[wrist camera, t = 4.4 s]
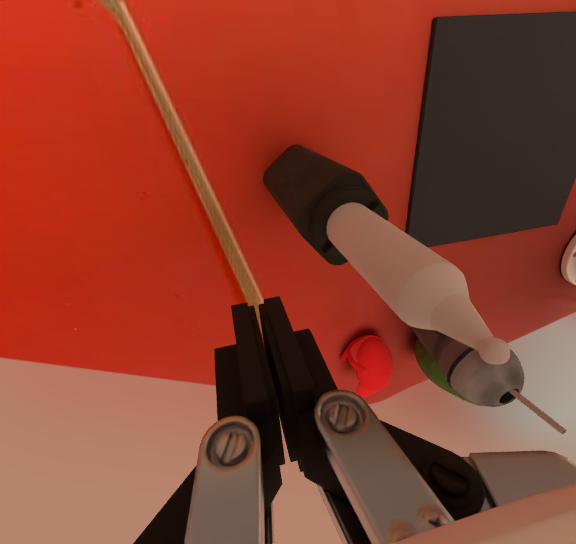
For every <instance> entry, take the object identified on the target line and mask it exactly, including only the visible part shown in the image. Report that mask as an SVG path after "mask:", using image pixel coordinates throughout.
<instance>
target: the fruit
mask: <svg viewBox="0 0 576 544" xmlns="http://www.w3.org/2000/svg"><path fill="white" fill-rule="evenodd" d="M415 355H416V359H417V362H418V364H419V366H420V367H421V369H422V371H423V372H424V373H425V375H426V376H427V377H428V378H429V379H430V380H431V381H432V382H434V383H435V384H436V385H438V386H439V387H441V388H442V389H444V390H446V391H448V392H449V393H451V394H453V395H455V396H458V397H459V398H461V399H463V400H465V401H468V402H470V403H473V402H471V401H469V400H468V399H466V398H464V397H462V396H461V395H460V394H459V393H457V392H456V391H455V390H454V389H452V388H451V387H450V386H449V384H448V382H447V380H446V378H445V376H444V375H443V373H442V371H441V369H440V368H439V365H438V364H437V363H436V361H435V360H434V359H433V357H432V356H431V354H430V353H429V352H428V350H427V349H426V348H425V346H424V345H423V344H422V342H421V341H420V340H419V338H418V339H417V341H416V345H415ZM473 404H476V403H473ZM476 405H478V404H476ZM479 406H482V405H479Z"/></svg>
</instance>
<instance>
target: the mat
mask: <svg viewBox="0 0 576 544" xmlns="http://www.w3.org/2000/svg"><path fill="white" fill-rule="evenodd" d="M575 178H576V12H553V13H528V14H502V15H477V16H452V17H436V18H434V19H433V24H432V32H431V40H430V48H429V55H428V63H427V71H426V78H425V86H424V94H423V101H422V109H421V117H420V125H419V132H418V140H417V148H416V155H415V163H414V171H413V179H412V186H411V194H410V202H409V209H408V217H407V225H406V234H408V235H409V236H411V237H412V238H414V239H415V240H417V241H418V242H420V243H421V244H423V245H424V246H426V247H432V246H437V245H443V244H449V243H454V242H460V241H466V240H471V239H477V238H482V237H488V236H494V235H499V234H505V233H511V232H516V231H522V230H527V229H533V228H539V227H544V226H550V225H556V224H558V222H559V219H560V217H561V214H562V211H563V209H564V206H565V204H566V201H567V199H568V196H569V193H570V191H571V188H572V186H573V183H574V180H575Z"/></svg>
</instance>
